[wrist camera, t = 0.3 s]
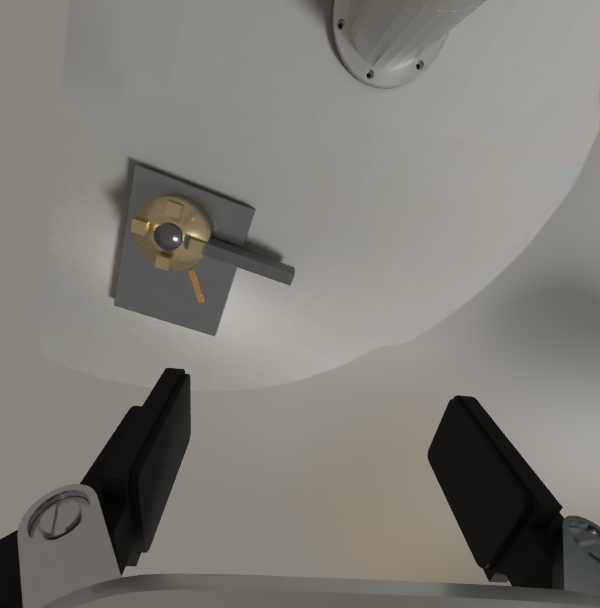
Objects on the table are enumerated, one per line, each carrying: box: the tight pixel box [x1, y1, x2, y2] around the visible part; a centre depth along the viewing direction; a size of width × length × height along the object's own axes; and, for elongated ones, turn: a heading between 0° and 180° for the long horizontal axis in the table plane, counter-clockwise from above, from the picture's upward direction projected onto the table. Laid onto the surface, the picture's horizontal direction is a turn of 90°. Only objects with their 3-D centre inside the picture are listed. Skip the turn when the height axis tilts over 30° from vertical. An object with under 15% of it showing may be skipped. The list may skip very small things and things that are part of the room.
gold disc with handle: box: [131, 195, 294, 285], centre depth 40 cm, size 9×20×4 cm, turn 69°
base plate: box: [114, 164, 255, 336], centre depth 43 cm, size 20×15×2 cm
